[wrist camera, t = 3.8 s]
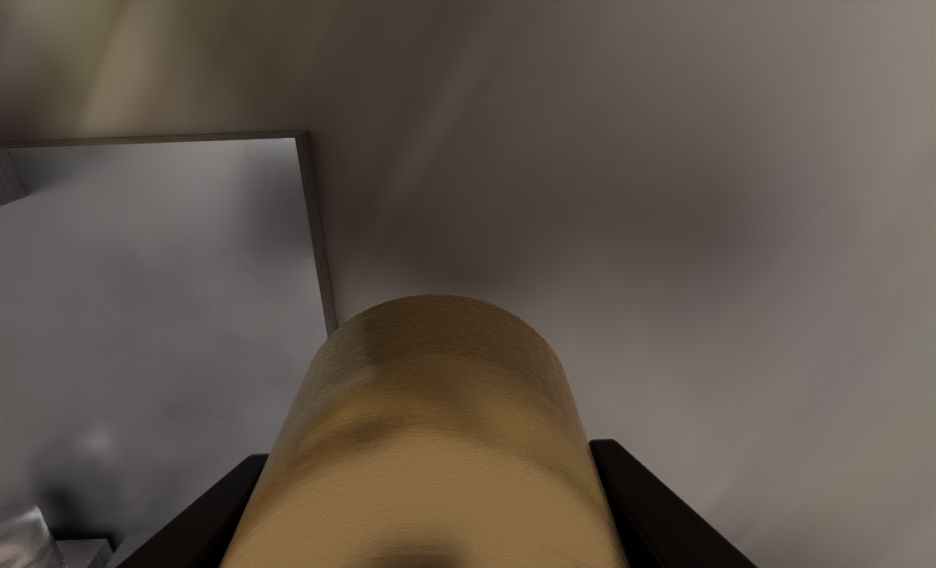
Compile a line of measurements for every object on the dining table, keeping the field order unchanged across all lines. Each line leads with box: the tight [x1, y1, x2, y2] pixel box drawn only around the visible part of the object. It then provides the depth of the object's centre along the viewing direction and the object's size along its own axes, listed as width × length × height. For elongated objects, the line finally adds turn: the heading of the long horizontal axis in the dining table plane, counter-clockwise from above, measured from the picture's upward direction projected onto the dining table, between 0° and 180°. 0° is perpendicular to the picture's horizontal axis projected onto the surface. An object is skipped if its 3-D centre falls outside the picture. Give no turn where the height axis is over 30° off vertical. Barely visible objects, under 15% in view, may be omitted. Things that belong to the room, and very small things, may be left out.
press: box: [0, 131, 338, 568], centre depth 15 cm, size 15×18×6 cm
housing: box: [219, 294, 630, 568], centre depth 7 cm, size 5×5×5 cm
